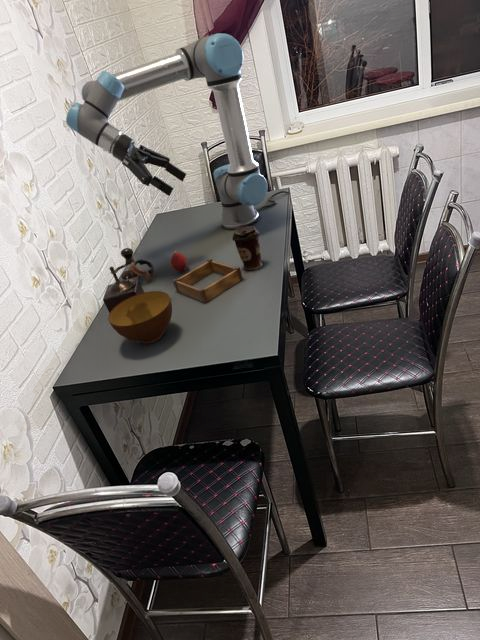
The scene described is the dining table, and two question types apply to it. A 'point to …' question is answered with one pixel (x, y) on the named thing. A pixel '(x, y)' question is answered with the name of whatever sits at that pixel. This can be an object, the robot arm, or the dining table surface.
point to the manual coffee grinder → (122, 284)
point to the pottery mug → (139, 271)
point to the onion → (178, 262)
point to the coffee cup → (248, 246)
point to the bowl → (142, 316)
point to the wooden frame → (214, 289)
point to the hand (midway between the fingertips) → (178, 184)
